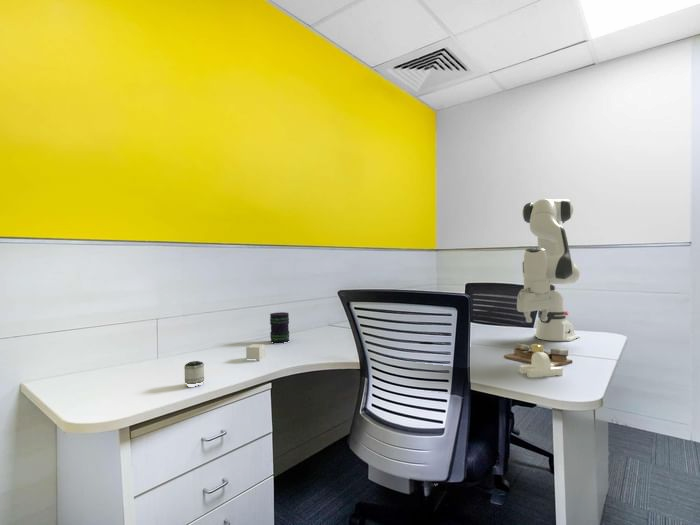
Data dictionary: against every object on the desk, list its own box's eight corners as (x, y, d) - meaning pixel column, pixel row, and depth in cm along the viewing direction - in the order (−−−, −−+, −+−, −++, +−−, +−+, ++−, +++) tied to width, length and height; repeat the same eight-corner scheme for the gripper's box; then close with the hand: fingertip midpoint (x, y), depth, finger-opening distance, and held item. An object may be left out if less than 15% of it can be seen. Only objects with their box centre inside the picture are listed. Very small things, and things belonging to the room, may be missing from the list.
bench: (527, 352, 169) (526, 340, 169) (572, 362, 151) (572, 349, 151) (504, 357, 161) (503, 345, 161) (549, 368, 144) (548, 354, 144)
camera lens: (203, 381, 137) (202, 359, 137) (205, 386, 132) (205, 363, 131) (184, 384, 134) (183, 361, 134) (185, 389, 129) (185, 365, 129)
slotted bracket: (550, 370, 143) (549, 349, 143) (563, 375, 136) (563, 353, 136) (518, 372, 140) (518, 351, 140) (531, 378, 133) (530, 356, 133)
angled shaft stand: (551, 357, 155) (550, 347, 155) (568, 359, 152) (567, 348, 152) (550, 360, 152) (550, 349, 152) (567, 361, 149) (567, 351, 149)
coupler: (545, 357, 155) (545, 345, 155) (538, 359, 153) (538, 347, 153) (535, 355, 159) (536, 343, 159) (528, 356, 157) (528, 344, 157)
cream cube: (246, 361, 164) (246, 347, 164) (252, 357, 170) (252, 344, 170) (259, 361, 163) (259, 347, 163) (265, 358, 169) (264, 344, 169)
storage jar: (290, 339, 207) (289, 312, 207) (288, 343, 198) (288, 314, 198) (271, 340, 207) (271, 312, 207) (269, 344, 197) (268, 315, 197)
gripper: (526, 289, 148) (527, 325, 149) (558, 286, 158) (558, 319, 159) (512, 288, 154) (513, 322, 154) (543, 285, 164) (544, 317, 164)
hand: (536, 321), depth 156 cm, fingers open, 8 cm apart
